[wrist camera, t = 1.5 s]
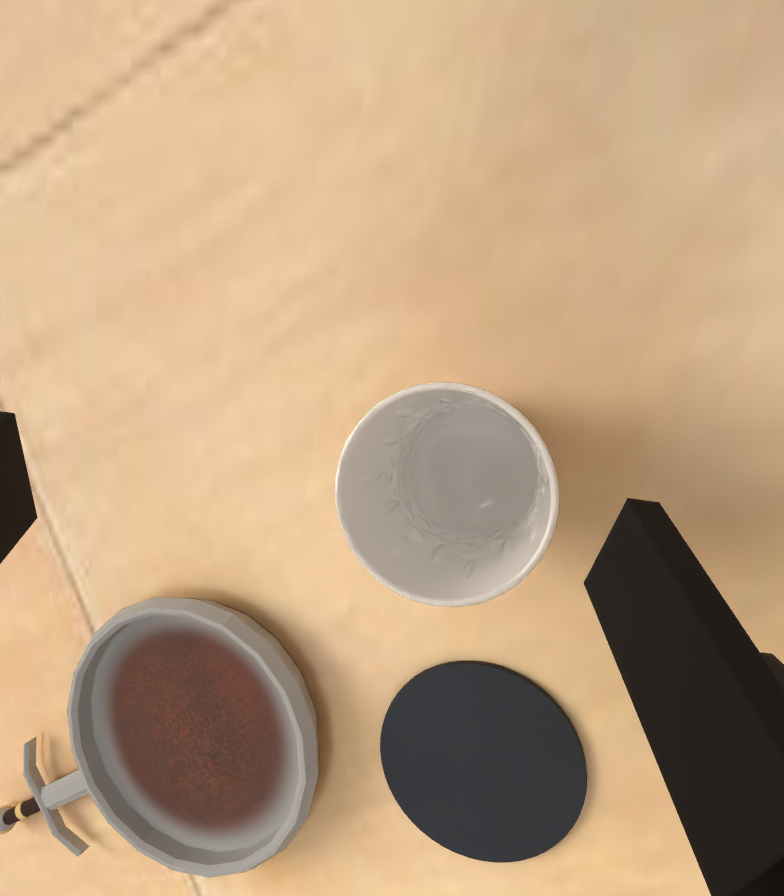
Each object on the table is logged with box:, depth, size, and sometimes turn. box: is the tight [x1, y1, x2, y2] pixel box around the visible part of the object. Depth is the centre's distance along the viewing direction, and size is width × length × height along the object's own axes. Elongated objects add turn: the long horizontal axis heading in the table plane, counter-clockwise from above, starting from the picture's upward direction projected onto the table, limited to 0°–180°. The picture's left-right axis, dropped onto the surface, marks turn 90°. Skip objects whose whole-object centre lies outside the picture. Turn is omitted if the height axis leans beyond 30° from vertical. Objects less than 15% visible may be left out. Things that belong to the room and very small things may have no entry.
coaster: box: [380, 661, 587, 862], centre depth 30 cm, size 11×11×1 cm
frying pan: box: [0, 597, 319, 877], centre depth 35 cm, size 17×3×28 cm
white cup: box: [335, 382, 559, 607], centre depth 24 cm, size 8×8×10 cm
